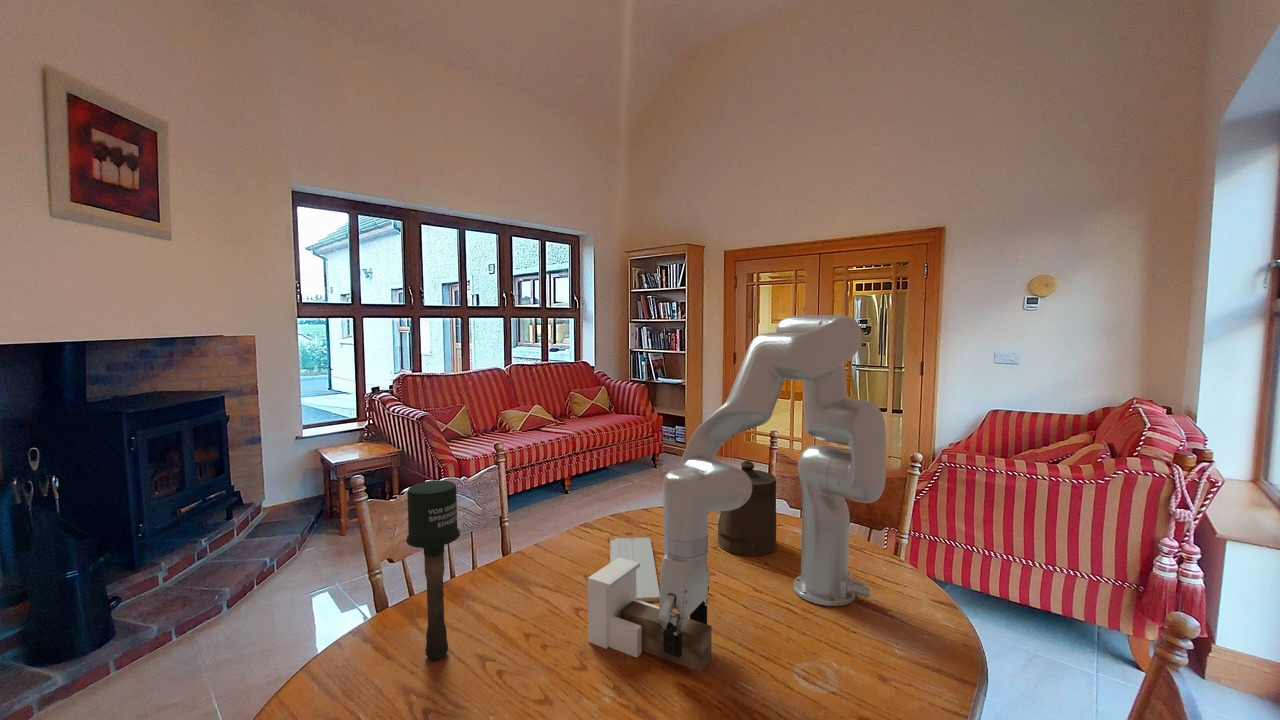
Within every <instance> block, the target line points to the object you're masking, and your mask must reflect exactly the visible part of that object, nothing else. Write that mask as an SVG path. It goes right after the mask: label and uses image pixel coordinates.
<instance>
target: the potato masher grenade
mask: <svg viewBox="0 0 1280 720" xmlns="http://www.w3.org/2000/svg"><path fill="white" fill-rule="evenodd" d="M406 494H407V498H406V499H407V523H408V524H407V526H408V529H407V530H408V534H407V536H406V539H405V542H406V544H407V545H408V546H410V547H413V548H419V549H423V556H424V559H423V561H424V576H425V580H426V601H427V602H426V604H427V607H426V610H427V629H426V633H425V634H426V636H425V637H426V638H425V639H426V643H425V644H426V645H425V650H424V651H425V652H424V653H425V656H426V657H427V659H428V660H430V661H439V660H441V659H443V658H444V657H445V656H446V655H447V654H448V651H449V643H448V639H447V638H448V636H447V632H448V631H447V628H446V624H445V623H446V622H445V606H444V605H445V603H444V601H445V600H444V599H445V598H444V596H445V595H444V575H445V545H448V544H452V543H453V542H455V541H457V539H458V538H460V536H461V534H460V533H461V531H460V529H459V528H458V505H457V504H458V503H457V502H458V499H457V484H456V483H455V482H453V481H450V480H428V481H423V482H418V483H416V484H413V485H411V486H410V487H408V489H407V492H406Z"/></svg>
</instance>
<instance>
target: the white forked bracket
mask: <svg viewBox="0 0 1280 720" xmlns="http://www.w3.org/2000/svg"><path fill="white" fill-rule="evenodd" d="M639 567H640V563H638V562H635V561H631V560H627V559H624V558H620V557H618V558H617V559H615V560H614V561H612V562H611V563H610V562H609V563H608V564H606V565H605V566H603V567H602V568H601V569H599V570H597V571H596V572H594V573H593V574H591V575H590V576H589V577H587V621H588V622H587V623H588V624H587V630H588V631H587V637H588V638H587V640H588V641H587V642H588V643H591V644H593V645H595V646H598V647H601V648H603V649H606V650H607V649H608V648H610V649H613V650H616V651H619V652H621V653H623V654H626V655H629V656H632V657H635V658H639V656H641V654H642V651H643V650H642V626H641V625H638V624H635V623H632V622H629V621H626V620H623V619H621V610H622V609H623V608H624V607H626V606H627V605H628V604H629V603H631V602H632V601H635V602H638V603H642V604H645V605H648V606H651V607H654V608H657V609H660V608H659V606H658V605H655V604H652V603H648V602H643V601H640V600H636V569H638V568H639Z"/></svg>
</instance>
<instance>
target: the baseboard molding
mask: <svg viewBox="0 0 1280 720" xmlns="http://www.w3.org/2000/svg"><path fill="white" fill-rule="evenodd" d="M627 535H632V532H626V533H625V534H624V536H627ZM612 536H614V537H615V536H618V534H617V535H615V534H613V535H612V534H610V537H612ZM648 536H649V537H629V538H627V537H621V538H619V537H616V538H615V539H613V540H612V539H610V537H607V538H605V539H606V540H607V539H608V540H607V541H608V542H609V543H610V545H609V546H610V549H609V550H610V551H609V553H610V554H609V555H610V556H609V563H611V562H612V561H614V560H615V559H617V558H618V557H620V558H624V559H627V560H631V561H635V562H638V563H640V567H639V568H638V569H636V600H640V601H643V602H646V603H648V602H659V599H660V585H659V582H658V575H657V570H656V564H655V559H654V552H653V551H654V550H653V546H652V540H651V537H650V536H651V534H650V533H649V534H648Z"/></svg>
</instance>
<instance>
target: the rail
mask: <svg viewBox="0 0 1280 720" xmlns="http://www.w3.org/2000/svg"><path fill="white" fill-rule="evenodd" d="M659 613H660V609H657V608H654V607H651V606H648V605H645V604H642V603H638V602H635V601H632V602H631V603H629V604H628V605H627V606H626V607H624V608H623V609H622V610H621V619H623V620H626V621H629V622H632V623H635V624H638V625H641V626H642V651H643V652H646V653H649V654H651V655H653V656H657V657H659V658H662V659H665V660H667V661H670V662H672V663H676V664H678V665H681V666H684V667H686V668H688V669H692V670H693V671H697V672H700V673H702V672H703V671H704V670H705V668H707V666H708V665H709V663H710V662H711V660H712V642H713V641H712V635H713V634H712V631H713V630H712V627H713V626H712V625H710V624H708V623H707V624H704V623H701V622H698V621H695V620H692V619H690V618H688V617H687V618H685V619H683V622H682V625H681V629H680V633H682V656H681V657H680V658H678V657H675V656H672V655H670V654H667V653H665V652H664V647H663V631H662V629H661V628H660V623H659V620H658V615H659ZM676 621H677V618H675V617H671V619H670V623H672V624H673V625H674V626H675V625H676Z"/></svg>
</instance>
